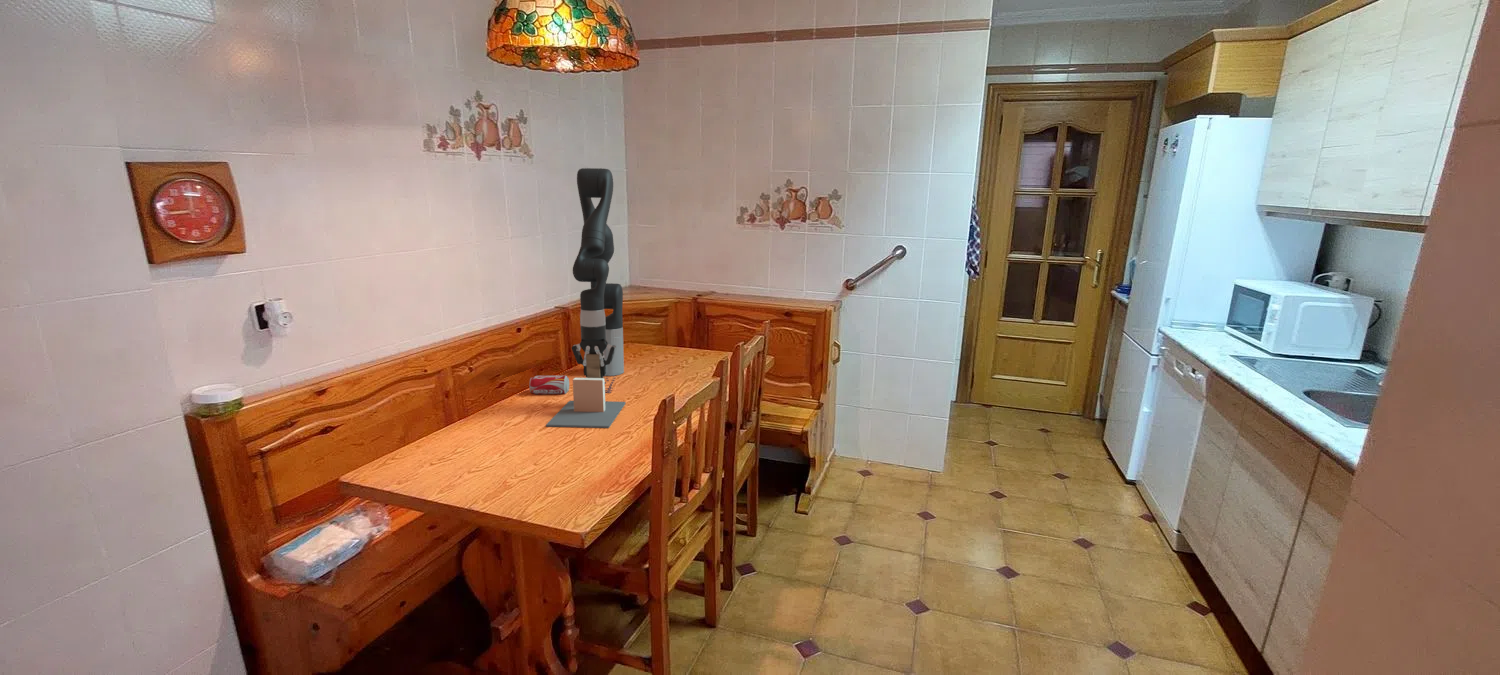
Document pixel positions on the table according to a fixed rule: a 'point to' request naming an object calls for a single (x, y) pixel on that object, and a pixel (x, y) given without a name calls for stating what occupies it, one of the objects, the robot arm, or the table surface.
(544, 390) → the beverage can
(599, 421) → the mat
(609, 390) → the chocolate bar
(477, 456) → the table surface
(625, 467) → the table surface
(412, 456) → the table surface
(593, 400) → the tile
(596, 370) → the block
